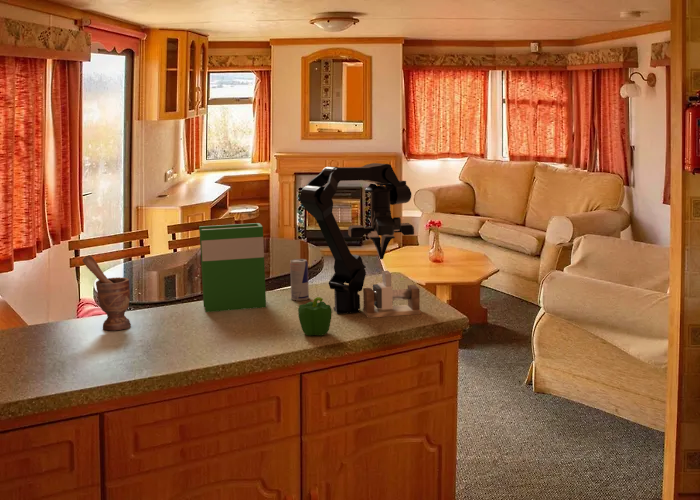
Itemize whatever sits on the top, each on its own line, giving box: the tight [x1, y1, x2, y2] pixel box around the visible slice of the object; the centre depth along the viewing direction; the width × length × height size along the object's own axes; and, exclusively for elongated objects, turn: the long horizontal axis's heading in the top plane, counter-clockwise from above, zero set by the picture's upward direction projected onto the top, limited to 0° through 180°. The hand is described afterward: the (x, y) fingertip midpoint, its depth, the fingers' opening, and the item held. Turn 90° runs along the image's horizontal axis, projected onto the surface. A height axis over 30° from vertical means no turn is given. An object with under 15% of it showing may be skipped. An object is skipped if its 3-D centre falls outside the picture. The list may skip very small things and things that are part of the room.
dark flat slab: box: [372, 283, 382, 309], centre depth 217 cm, size 1×6×6 cm, turn 11°
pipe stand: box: [362, 284, 421, 318], centre depth 218 cm, size 15×7×7 cm, turn 101°
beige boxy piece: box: [376, 270, 394, 310], centre depth 217 cm, size 3×6×10 cm, turn 11°
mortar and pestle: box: [82, 255, 132, 331], centre depth 207 cm, size 12×9×20 cm
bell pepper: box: [297, 296, 332, 337], centre depth 198 cm, size 8×8×10 cm
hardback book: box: [198, 222, 267, 313], centre depth 226 cm, size 18×7×24 cm, turn 104°
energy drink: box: [289, 258, 310, 302], centre depth 235 cm, size 5×5×12 cm
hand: (381, 259), depth 228 cm, fingers closed
